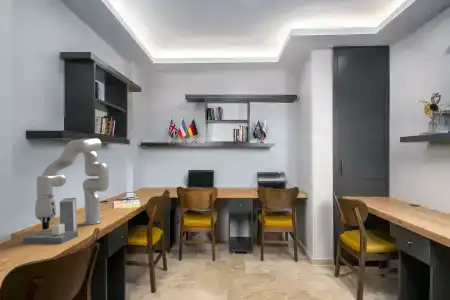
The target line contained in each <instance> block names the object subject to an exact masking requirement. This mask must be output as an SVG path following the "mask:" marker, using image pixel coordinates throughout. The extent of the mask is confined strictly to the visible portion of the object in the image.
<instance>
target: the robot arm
mask: <svg viewBox="0 0 450 300" xmlns="http://www.w3.org/2000/svg"><path fill="white" fill-rule="evenodd" d="M101 148H102V141H101V139H99V138H98V137H97V138H96V137H95V138H93V137H91V138H80V139H77V140H76V139H75V140H71V141H69V142H68V143H67V144H66V146H65V148H64V150H63V151H62V153H61V154H60V155H59V157H58V158H57V159H56V160H54V161H52V163H50V164H49V165H48V166H46V168H45V169H44V171H43V173H42V174H41V175H38V176H36V200H35V207H34V215H35V219H37V220H39V221H40V223H41V225H42V226H41V228H42V231H47V230H48V229H49V228H50V221H51V220H52V219H55V217H56V215H57V208H56V201H55V198H54V197H55V195H54V194H53V187H56V188H57V187H62V186H64V185H65V184H66V182H67V177H66V176H65V175H64V174H61V173H58V172H60V171H61V170H64V169H66V168H69V167H71V166H73V164H74V162H75V161H76V158H77V157H78V155H79V154H82V155H83V158H84V174H85V175H86V176H88V177H90V178H86V179H84V180H83V183H82V190H83V194H84V221H82V225H84V226H87V225H89V226H90V225H91V226H92V225H97V224H101V223H103V220H102V219H101V218H103V215H102V214H100V195H99V193H98V192H101V193H102V192H106V191H107V190H108V189H109V185H110V184H109V183H110V181H109V180H110V179H109V177H110V176H109V175H110V171H109V167H108V165H107V164H106V163H104V162H99V160H98V159H99V158H98V154H97V152H98V151H99V150H100V149H101ZM96 151H97V152H96ZM92 177H93V178H92Z"/></svg>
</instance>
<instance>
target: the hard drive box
mask: <svg viewBox="0 0 450 300" xmlns="http://www.w3.org/2000/svg"><path fill="white" fill-rule="evenodd" d="M60 223H62V224H65V231H77V228H78V214H77V197H69V198H68V197H67V198H63V199H62V200H60V201H59V224H60Z"/></svg>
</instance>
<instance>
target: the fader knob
mask: <svg viewBox="0 0 450 300" xmlns="http://www.w3.org/2000/svg"><path fill="white" fill-rule="evenodd" d="M51 231H52V235H60V234H63V233H65V224H62V223H60V222H59V223H57V224H55V225H51Z"/></svg>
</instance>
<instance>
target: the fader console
mask: <svg viewBox="0 0 450 300" xmlns="http://www.w3.org/2000/svg"><path fill="white" fill-rule="evenodd" d="M78 237H79V231H78V230H75V231H65V233H63V234H60V235H52V230H42V231H41V230H40V231H38V232H35V233H33V234H30V235H27V236H24V237H23V238H22V239H23V240H22V243H23V244H64V243H66V242H68V241H70V240H73V239H76V238H78Z"/></svg>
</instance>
